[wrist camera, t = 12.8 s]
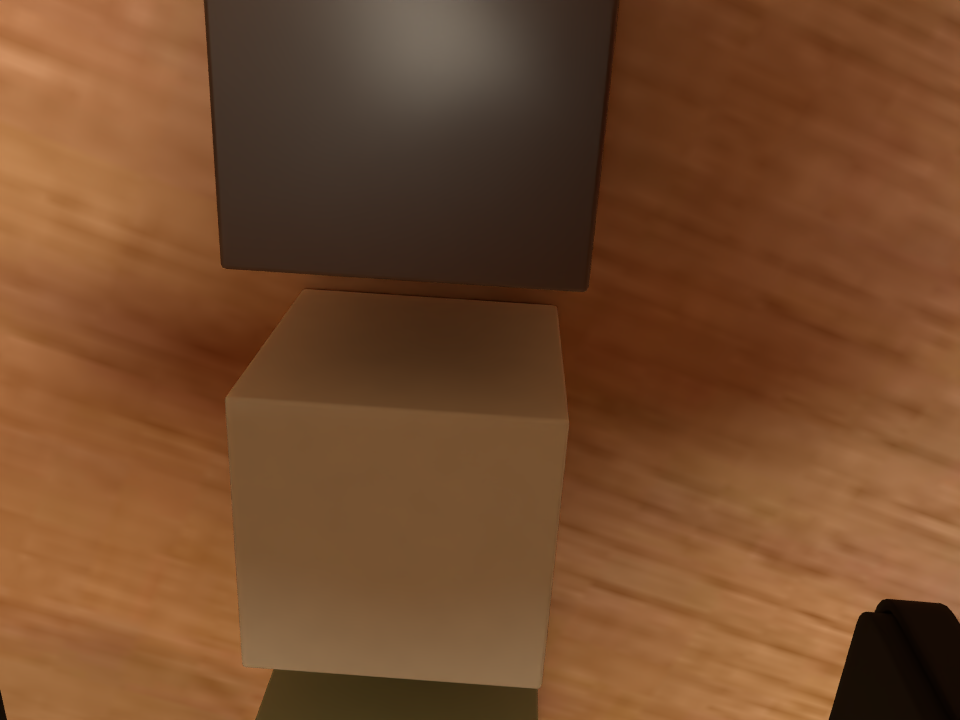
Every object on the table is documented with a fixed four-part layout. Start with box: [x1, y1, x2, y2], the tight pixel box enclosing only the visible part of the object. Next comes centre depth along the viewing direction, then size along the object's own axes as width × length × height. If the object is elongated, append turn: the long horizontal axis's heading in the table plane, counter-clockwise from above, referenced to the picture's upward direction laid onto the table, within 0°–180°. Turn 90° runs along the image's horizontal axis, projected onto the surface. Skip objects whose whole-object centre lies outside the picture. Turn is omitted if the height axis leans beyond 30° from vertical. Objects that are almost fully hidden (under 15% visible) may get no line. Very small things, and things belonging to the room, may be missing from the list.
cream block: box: [225, 289, 569, 689], centre depth 14 cm, size 4×4×4 cm
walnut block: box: [204, 0, 619, 292], centre depth 12 cm, size 4×4×4 cm
